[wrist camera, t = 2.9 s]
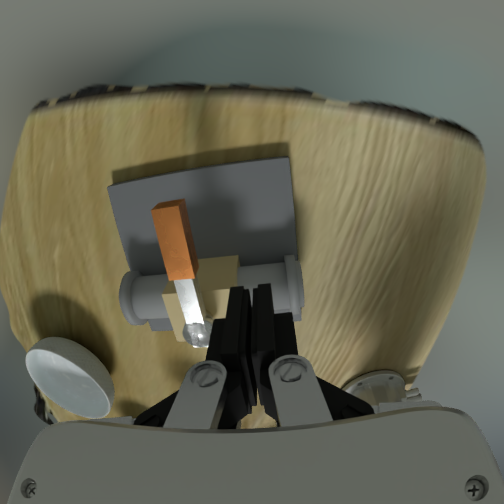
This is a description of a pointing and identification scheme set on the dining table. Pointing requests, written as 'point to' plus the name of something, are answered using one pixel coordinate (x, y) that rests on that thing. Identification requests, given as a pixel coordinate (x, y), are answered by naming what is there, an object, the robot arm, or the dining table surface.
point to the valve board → (211, 239)
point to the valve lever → (183, 268)
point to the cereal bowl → (71, 376)
